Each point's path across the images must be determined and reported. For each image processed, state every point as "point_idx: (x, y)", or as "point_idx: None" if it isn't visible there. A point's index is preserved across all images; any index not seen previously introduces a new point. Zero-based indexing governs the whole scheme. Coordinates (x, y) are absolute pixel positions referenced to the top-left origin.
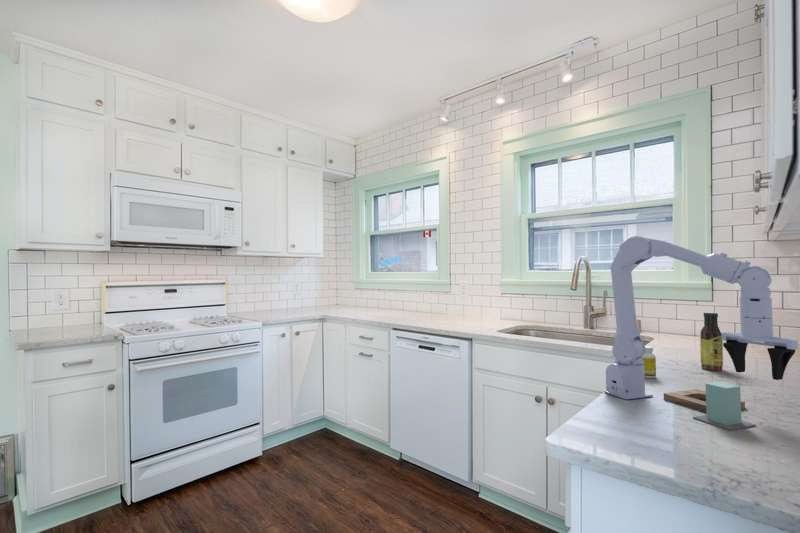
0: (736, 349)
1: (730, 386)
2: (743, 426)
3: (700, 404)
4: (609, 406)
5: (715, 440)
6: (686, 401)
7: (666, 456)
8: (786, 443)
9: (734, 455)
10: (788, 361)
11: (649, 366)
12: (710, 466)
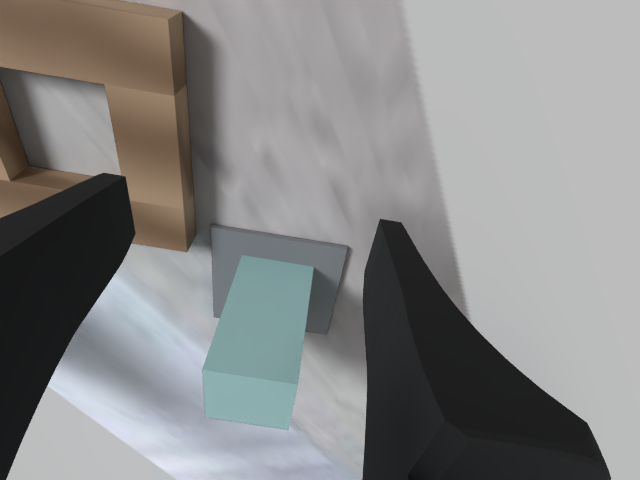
0: (7, 408)
1: (278, 403)
2: (334, 293)
3: (148, 243)
4: (66, 373)
5: (343, 396)
6: None
7: (338, 476)
8: None
9: None
10: (475, 332)
11: None
12: None
